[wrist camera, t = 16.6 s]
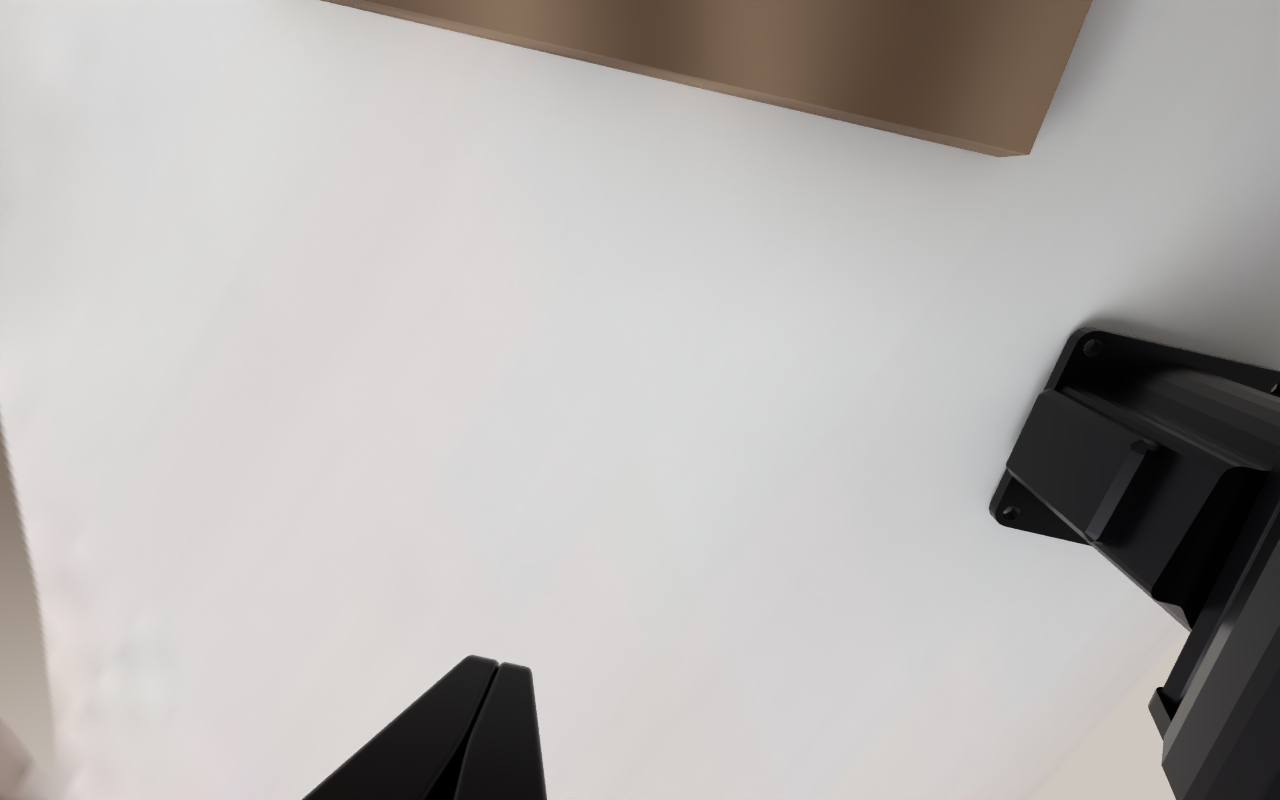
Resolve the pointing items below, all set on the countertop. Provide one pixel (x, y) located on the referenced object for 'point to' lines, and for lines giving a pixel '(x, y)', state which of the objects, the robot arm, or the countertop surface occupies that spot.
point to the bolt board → (812, 54)
